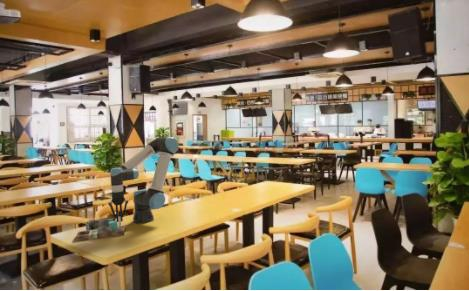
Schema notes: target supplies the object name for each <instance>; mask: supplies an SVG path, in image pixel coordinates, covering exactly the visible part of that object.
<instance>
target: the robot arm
mask: <svg viewBox="0 0 469 291" xmlns="http://www.w3.org/2000/svg"><path fill="white" fill-rule="evenodd" d="M179 146H180V145H179V142H178V140H177V138H175V137H173V136H165V137H164V136H163V137H161V136H159V137H157V138H155V139H153V140H152V141H150V142H149V143H148V144H145V146H144V148H142V150H140V151H139V152H138V153H136V154H135V155H134V156H132V157H131V158H129V159H128V160H127V161H126V162H124V163H122V165H121V164H120V166H119V167H113V168H110V173H109V174H110V175H109V176H110V184H111V185H110V186H111V187H110V188H111V189H110V190H111V201H110V202H108V204H107V205H108V206H109V207H110V210H111V212H112V217H114V218H115V220H116V221H117V223H118V227H121V226H122V222H123V221H124V220H123V218H124V216H126V212H127V207H128V206H127V205H128V203H129V200H127V199H126V198H125V192H124V182H127V181H133V180H137V179H139V175H140V173H139V170H138V169H137V167H139V166H140V165H141V164H142V163H144V162H145V161H146V160H147V159H149V158H150V157H152V156H153V157H155V155H156V154H158V159H157V163H156V167H155V169H154V174H153V177H152V182H151V186H150V187H148V188H146V189H145V188H144V189H139V190H135V191H133V205H134V208H133V209H134V213H133V217H132V222H133V223H136V224H143V223H149V222H151V221H153V220H154V218H155V217H154V214H153V212H152V210H151V209H153V210H159V209H161V208H162V207H163V206H164V205H165V203H166V196H165V191H164V185H165V182H166V178H167V174H168V169H169V165H170V162H171V158H173V157H174V156H175V155H174V154H175V153H176V152H178V151H179ZM123 204H124V206H122V205H123ZM113 205H114V206H115V209H114V207H113ZM118 206H119V207H118ZM122 207H123V208H124V209H123V208H122ZM119 215H120V216H119Z"/></svg>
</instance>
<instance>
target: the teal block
mask: <svg viewBox="0 0 469 291" xmlns="http://www.w3.org/2000/svg"><path fill="white" fill-rule="evenodd" d="M109 226H112V229H113V230H118V227H119V223H118V222H117V220H116V221H110V222H109Z"/></svg>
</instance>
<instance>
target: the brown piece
mask: <svg viewBox="0 0 469 291" xmlns="http://www.w3.org/2000/svg"><path fill="white" fill-rule="evenodd" d="M98 220H99V228H97V229H95V230H87V231H86V230H81V231H78V232H77V234H76V236H75V242H79V241H80V242H81V241H82V242H83V241H89V240H96V239H105V238H110V237H120V236H125V230H126V229H125V225H121V227H119V226H118V230H113V229H112V226H109V222H110V221H113V219H105V220H100V219H98Z"/></svg>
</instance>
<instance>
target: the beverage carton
mask: <svg viewBox="0 0 469 291" xmlns="http://www.w3.org/2000/svg"><path fill="white" fill-rule="evenodd" d="M105 219H113V221H117V219H116V217H114V216H108V217H104V218H100V219H96V220H92V221H87V222H85V231H87V230H95V229H97V228H99V220H105Z"/></svg>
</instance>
